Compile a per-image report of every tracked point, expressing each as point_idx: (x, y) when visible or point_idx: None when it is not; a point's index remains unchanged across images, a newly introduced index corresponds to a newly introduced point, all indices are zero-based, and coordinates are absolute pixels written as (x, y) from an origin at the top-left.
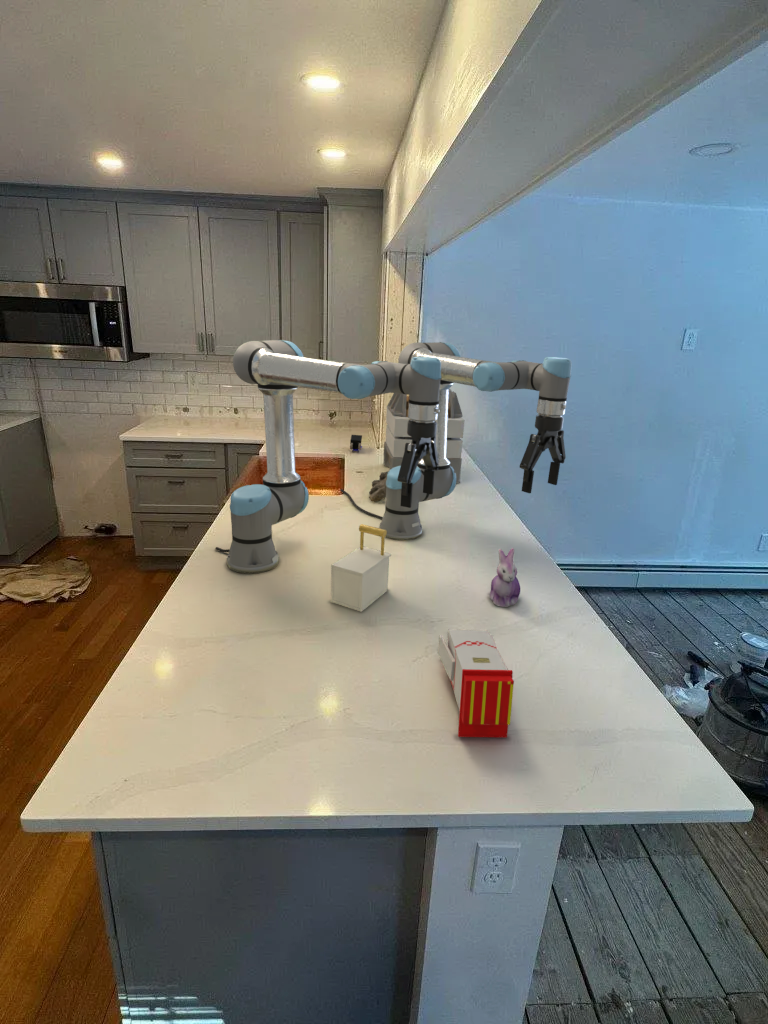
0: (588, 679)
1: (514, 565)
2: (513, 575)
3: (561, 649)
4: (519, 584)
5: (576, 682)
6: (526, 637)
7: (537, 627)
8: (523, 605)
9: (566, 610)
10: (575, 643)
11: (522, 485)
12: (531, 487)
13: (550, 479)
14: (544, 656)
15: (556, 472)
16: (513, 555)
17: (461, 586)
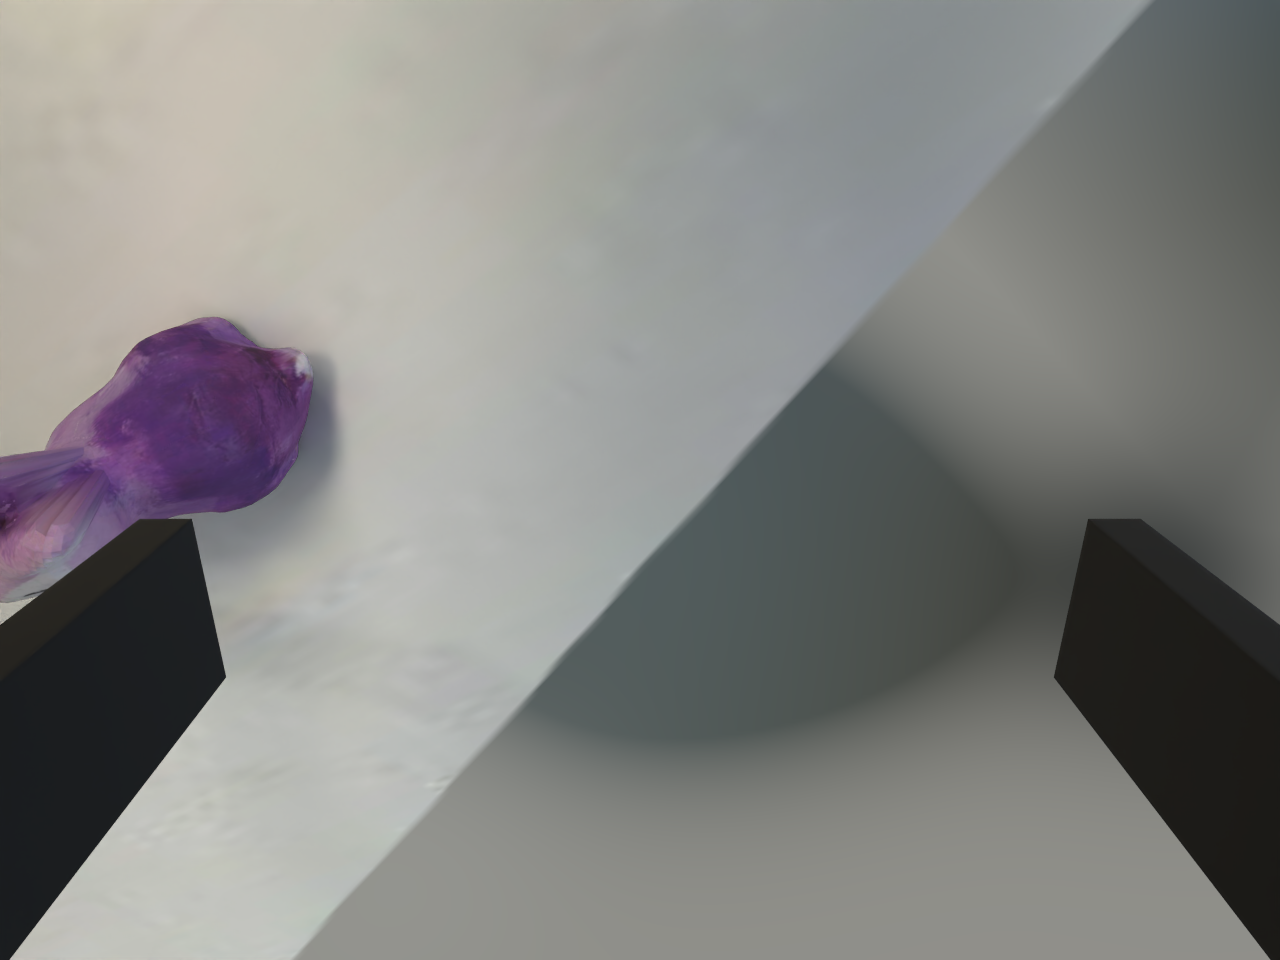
0: (73, 931)
1: (45, 584)
2: (23, 599)
3: (132, 802)
4: (247, 500)
5: None
6: None
7: None
8: (274, 514)
9: (431, 667)
10: (223, 813)
11: (65, 581)
12: (155, 749)
13: (1122, 614)
14: None
15: (1216, 854)
16: (30, 575)
17: (92, 123)
